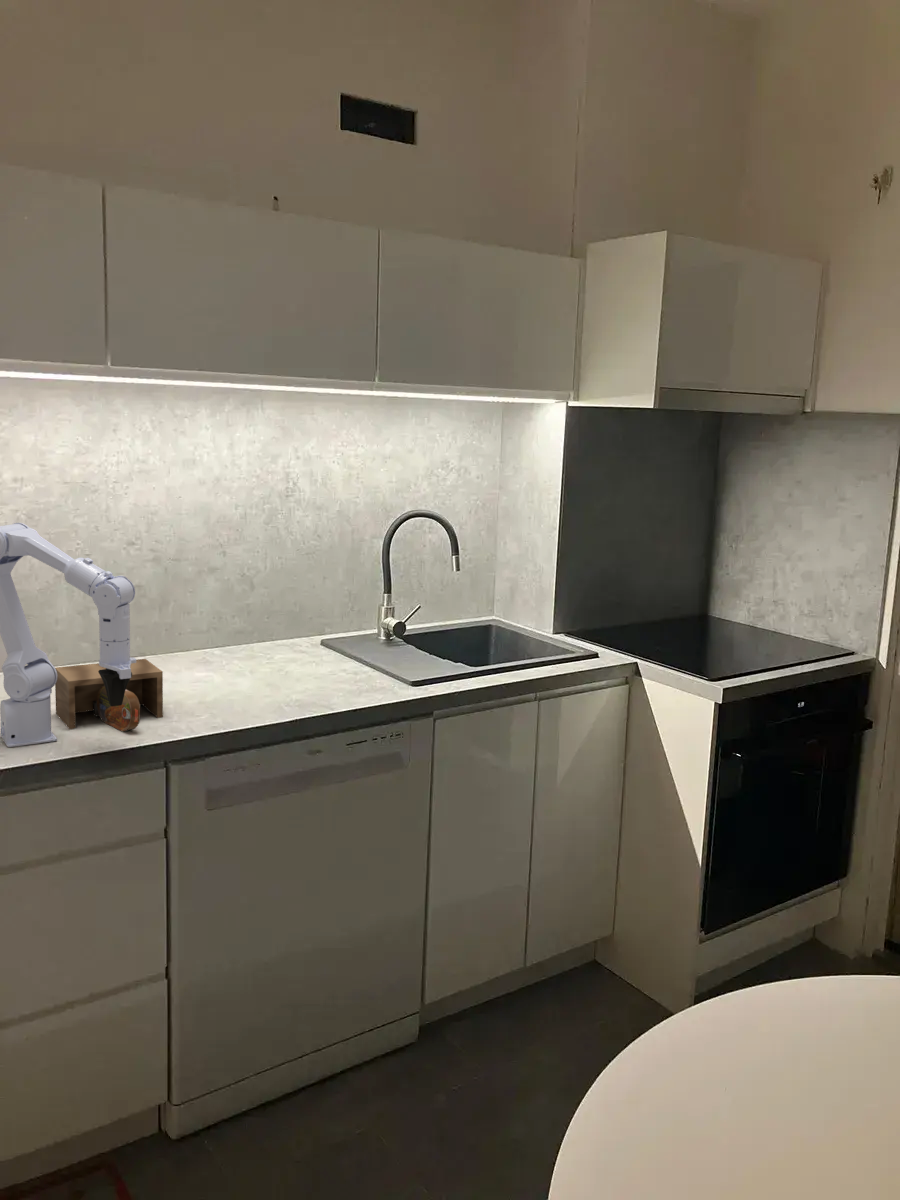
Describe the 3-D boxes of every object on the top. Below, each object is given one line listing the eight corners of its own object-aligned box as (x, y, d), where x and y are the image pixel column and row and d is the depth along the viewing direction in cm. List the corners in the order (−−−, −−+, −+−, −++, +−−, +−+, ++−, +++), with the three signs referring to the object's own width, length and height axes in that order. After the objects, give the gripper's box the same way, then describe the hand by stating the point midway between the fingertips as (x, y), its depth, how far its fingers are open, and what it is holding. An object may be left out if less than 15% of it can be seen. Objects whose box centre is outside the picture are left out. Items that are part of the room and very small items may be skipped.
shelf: (69, 729, 214) (68, 681, 212) (55, 713, 224) (54, 667, 222) (162, 717, 225) (162, 671, 223) (145, 702, 235) (145, 658, 233)
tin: (96, 718, 222) (95, 681, 221) (109, 715, 224) (108, 679, 223) (129, 736, 212) (128, 697, 210) (143, 733, 214) (142, 695, 212)
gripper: (146, 645, 195) (147, 712, 198) (124, 629, 207) (125, 693, 209) (109, 648, 191) (110, 717, 194) (89, 632, 203) (90, 697, 205)
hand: (115, 705), depth 201 cm, fingers closed
